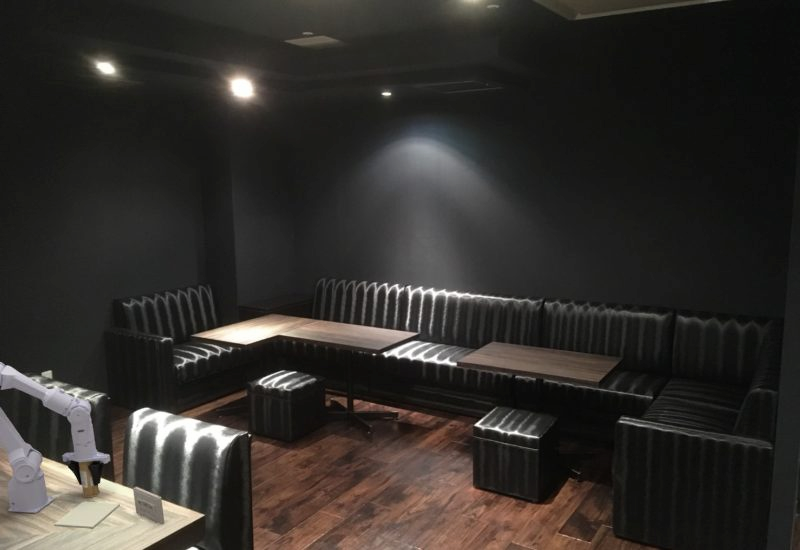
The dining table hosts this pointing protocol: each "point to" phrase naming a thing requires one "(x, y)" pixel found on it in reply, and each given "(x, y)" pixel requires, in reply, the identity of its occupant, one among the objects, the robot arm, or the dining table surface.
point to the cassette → (148, 505)
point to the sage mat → (87, 515)
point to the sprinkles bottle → (87, 480)
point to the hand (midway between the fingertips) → (90, 483)
